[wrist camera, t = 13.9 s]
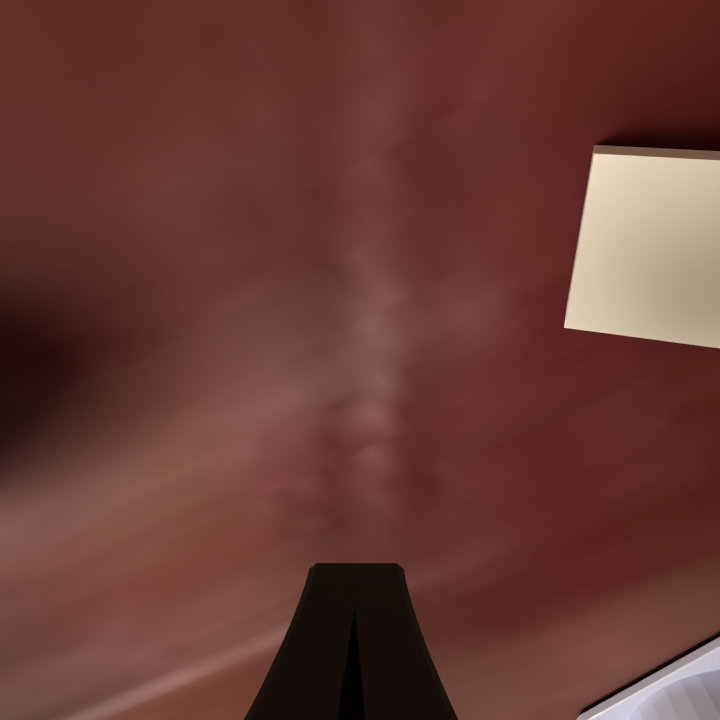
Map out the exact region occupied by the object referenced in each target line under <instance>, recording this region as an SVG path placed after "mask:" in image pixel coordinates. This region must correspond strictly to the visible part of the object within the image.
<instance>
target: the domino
mask: <svg viewBox="0 0 720 720" xmlns="http://www.w3.org/2000/svg"><path fill="white" fill-rule="evenodd" d="M564 328H571V329H579V330H586V331H594V332H601V333H609V334H616V335H624V336H631V337H639V338H646V339H654V340H661V341H669V342H676V343H684V344H691V345H699V346H706V347H714V348H720V151H705V150H685V149H664V148H644V147H624V146H604V145H594V148H593V154H592V160H591V166H590V172H589V178H588V184H587V189H586V195H585V201H584V207H583V213H582V219H581V225H580V230H579V236H578V242H577V248H576V254H575V260H574V266H573V271H572V277H571V283H570V289H569V295H568V301H567V307H566V315H565V324H564Z"/></svg>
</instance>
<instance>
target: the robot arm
mask: <svg viewBox="0 0 720 720" xmlns="http://www.w3.org/2000/svg"><path fill="white" fill-rule="evenodd" d="M244 720H458V718H457V716H456V714H455V712H454V710H453V708H452V705H451V703H450V701H449V699H448V696H447V694H446V692H445V689H444V687H443V685H442V682H441V680H440V678H439V675H438V673H437V671H436V668H435V666H434V664H433V661H432V659H431V656H430V654H429V651H428V649H427V646H426V644H425V641H424V638H423V635H422V633H421V630H420V627H419V624H418V621H417V619H416V615H415V612H414V609H413V606H412V603H411V599H410V596H409V592H408V588H407V584H406V579H405V574H404V569H403V568H402V567H400V566H399V565H398V564H397V563H316V564H315V565H314V566H313V567H311V568H310V569H309V573H308V577H307V580H306V584H305V587H304V590H303V593H302V595H301V598H300V601H299V604H298V606H297V609H296V612H295V614H294V617H293V619H292V621H291V624H290V626H289V628H288V631H287V633H286V635H285V638H284V640H283V642H282V645H281V647H280V649H279V651H278V653H277V655H276V657H275V659H274V661H273V663H272V666H271V668H270V670H269V672H268V674H267V676H266V678H265V680H264V682H263V684H262V686H261V689H260V691H259V692H258V694H257V696H256V698H255V700H254V702H253V704H252V706H251V708H250V710H249V711H248V713H247V715H246V717H245V719H244ZM577 720H720V637H718V638H717V639H715V640H713V641H711V642H709V643H708V644H706V645H704V646H702V647H700V648H699V649H697V650H695V651H693V652H692V653H690V654H688V655H686V656H684V657H683V658H681V659H679V660H677V661H675V662H674V663H672V664H670V665H668V666H666V667H665V668H663V669H661V670H659V671H658V672H656V673H654V674H652V675H650V676H649V677H647V678H645V679H643V680H641V681H640V682H638V683H636V684H634V685H632V686H631V687H629V688H627V689H625V690H624V691H622V692H620V693H618V694H616V695H615V696H613V697H611V698H609V699H607V700H606V701H604V702H602V703H600V704H599V705H597V706H595V707H593V708H591V709H590V710H588V711H586V712H584V713H582V714H581V715H580V716H578V718H577Z"/></svg>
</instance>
